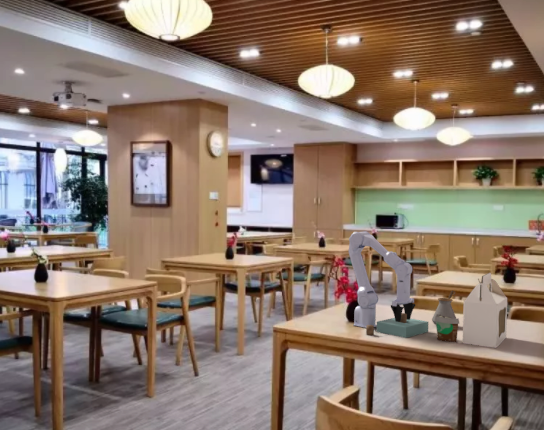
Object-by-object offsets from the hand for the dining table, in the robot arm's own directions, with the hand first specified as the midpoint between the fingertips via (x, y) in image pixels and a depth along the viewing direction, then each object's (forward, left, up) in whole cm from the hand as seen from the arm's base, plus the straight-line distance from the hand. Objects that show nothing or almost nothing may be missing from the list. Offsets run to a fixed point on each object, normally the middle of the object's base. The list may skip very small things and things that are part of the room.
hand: (402, 320), depth 256 cm
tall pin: (0, 0, -5) cm, 5 cm away
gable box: (+32, +13, -5) cm, 35 cm away
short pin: (-6, -16, -5) cm, 18 cm away
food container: (+20, 0, -5) cm, 21 cm away
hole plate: (0, 0, -5) cm, 5 cm away
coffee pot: (+5, +30, -5) cm, 31 cm away
